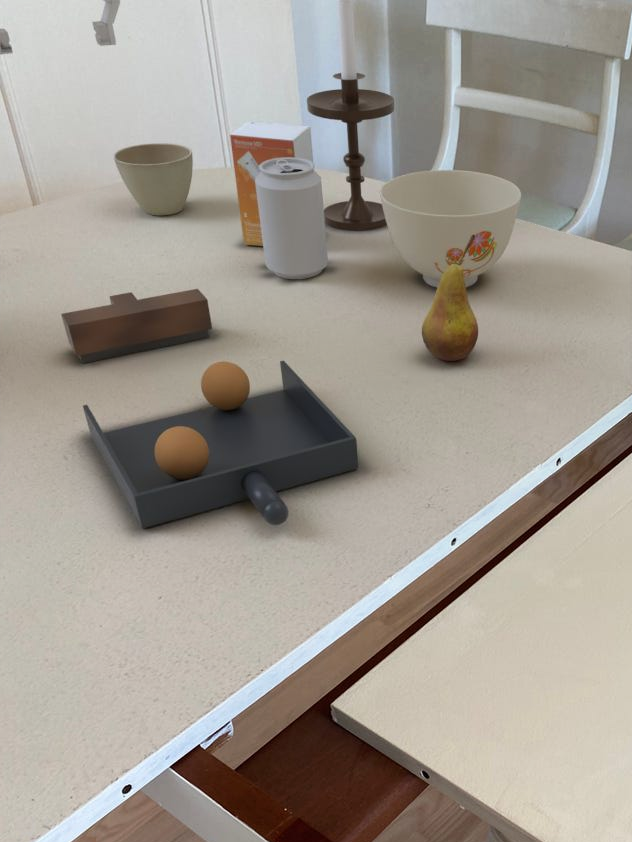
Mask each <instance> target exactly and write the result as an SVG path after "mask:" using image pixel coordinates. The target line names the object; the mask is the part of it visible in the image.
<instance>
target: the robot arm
mask: <svg viewBox="0 0 632 842" xmlns="http://www.w3.org/2000/svg"><path fill="white" fill-rule="evenodd" d="M102 1H103V2H104V6H103V9H102V14H101V17H100V20H98V21H97V20H96V21H91V23H92V28H93V31H94V32H95V35H94V36H95V37H94V38H95V40H96V43H97V45H99V46H100V47H103V46H104V47H105V46H116V45H117V40H116V36H115V30H114V24H115V21H116V17H117V14H118V12H119V7H120V4H121V0H102ZM9 35H10V34H9V32H8V31H7V30H6V29H5V28H0V56H1V55H11V54H13V53H14V51H13V48H12V45H11V44H10V42H11V39H10V36H9Z"/></svg>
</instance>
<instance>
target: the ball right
mask: <svg viewBox="0 0 632 842" xmlns="http://www.w3.org/2000/svg"><path fill="white" fill-rule="evenodd" d="M200 389H201V392H202V395H203V397H204V398H205V400H206V401H207V402H208V404H209V405H211V407H216V408H218V409H221V410H233V409H236V408H238V407H240V406H241V405H242V404H243V403H244V402H245V401H246V400H247V398H249V395H250V391H251V384H250V378H249V376H248V375H247V373H246V372H245V370H244V369H243V368H241V366H240V365H238V364H236V363H234V362H231V361H225V360H223V361H216V362H214V363H212V364H210V365H209V366H208V367H207V368H206V369H205V371H204V372H203V373H202V376H201V380H200Z"/></svg>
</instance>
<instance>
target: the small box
mask: <svg viewBox="0 0 632 842" xmlns="http://www.w3.org/2000/svg"><path fill="white" fill-rule="evenodd" d="M311 127H312V126H310V125H296V124H295V125H294V124H288V123H280V122H279V123H278V122H262V121H261V122H260V121H247V122H245V123H243V124H242V125H240V126H239V127H238V128H237V129H235V130H234V131H232V132H231V133H230V134H229V137H230V146H231V153H232V154H231V155H232V162H233V169H234V179H235V184H236V194H237V202H238V208H239V216H240V224H241V225H240V226H241V232H242V239H243V240H242V241H243V244H244V245H246V246H247V245H248V246H258V247H263V240H262V232H261V225H260V217H259V209H258V201H257V193H256V185H255V179H256V177H257V176H258V174H259V173H260V172H261V170H259V165H260V164H261V163H262V162H264V161H267V160H270V159H275V158H286V157H292V158H302V159H306V160H309V161H311V162H312V163H313V164H314V156H313V144H312V129H311ZM313 170H314V171H315V168H314V169H313Z"/></svg>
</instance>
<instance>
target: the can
mask: <svg viewBox="0 0 632 842" xmlns="http://www.w3.org/2000/svg"><path fill="white" fill-rule="evenodd" d="M315 168H316V167H315V163H314V162H313V163H312V162H311V161H309V160H306V159H302V158H292V157H286V158H275V159H270V160H267V161H264V162H262V163H261V164H260V165H259V170H261V172H260V173H259V174H258V176H257V177H256V179H255V185H256V193H257V201H258V209H259V217H260V225H261V232H262V240H263V246H262V247H263V255H264V263H265V267H266V268H267V269H268V270H269V271H271V272H272V273H273V274H274V275H275V276H277V277H279V278H282V279H287V280H304V279H310V278H313V277H316V276H318V275H320V274H321V273H322V271H323V270H324V269H325V268H326V267H327V266H328V264H329V257H328V256H329V255H328V246H327V233H326V223H325V220H324V210H325V207H324V196H323V186H322V177H321V176H320V174H318V173H317V171H316V170H315ZM313 169H314V170H313Z"/></svg>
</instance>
